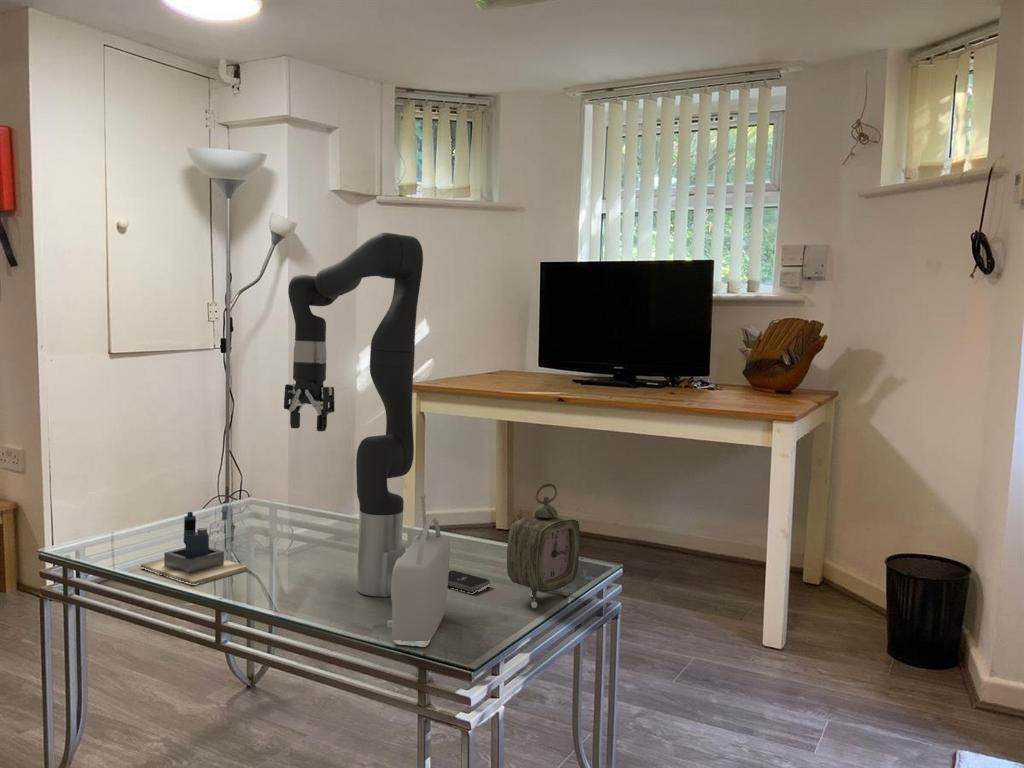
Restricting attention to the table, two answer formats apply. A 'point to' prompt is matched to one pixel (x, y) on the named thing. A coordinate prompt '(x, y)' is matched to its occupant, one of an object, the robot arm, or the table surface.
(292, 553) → the table surface
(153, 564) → the mounting board
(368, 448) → the robot arm
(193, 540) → the vaping device
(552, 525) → the tabletop clock
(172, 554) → the square socket
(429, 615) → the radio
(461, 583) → the external hard drive
